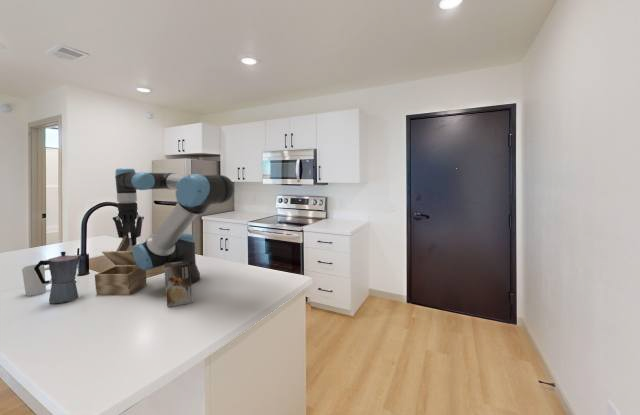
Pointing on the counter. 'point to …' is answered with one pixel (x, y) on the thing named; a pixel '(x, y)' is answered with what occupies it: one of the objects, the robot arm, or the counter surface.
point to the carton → (120, 280)
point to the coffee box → (178, 283)
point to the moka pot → (61, 277)
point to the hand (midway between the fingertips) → (130, 252)
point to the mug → (34, 280)
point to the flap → (121, 254)
